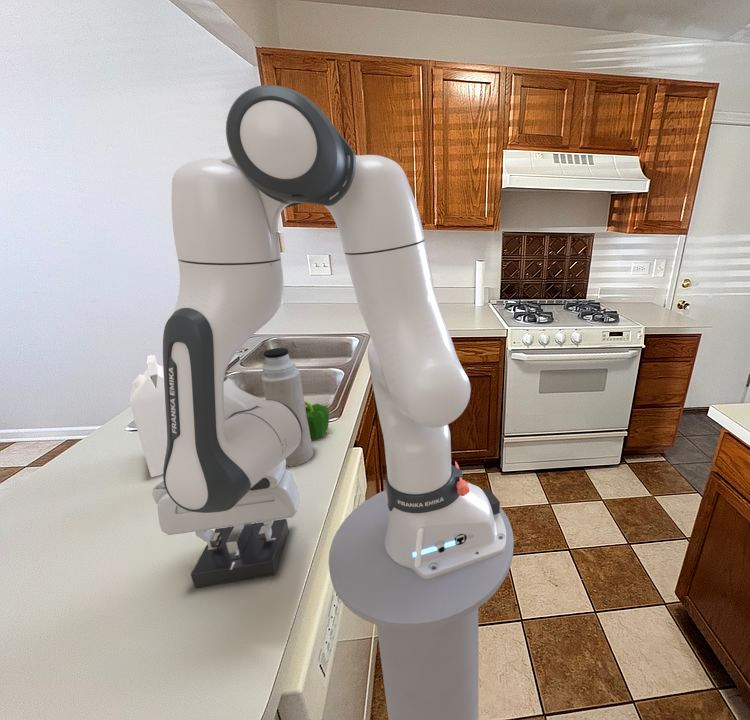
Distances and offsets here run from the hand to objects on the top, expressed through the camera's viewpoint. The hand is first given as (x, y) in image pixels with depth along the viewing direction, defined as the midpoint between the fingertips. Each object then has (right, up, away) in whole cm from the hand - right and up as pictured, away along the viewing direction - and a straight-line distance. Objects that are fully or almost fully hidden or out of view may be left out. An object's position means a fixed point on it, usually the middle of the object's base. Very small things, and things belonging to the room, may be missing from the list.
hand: (241, 541), depth 68 cm
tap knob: (0, -1, 0) cm, 1 cm away
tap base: (0, -3, +1) cm, 4 cm away
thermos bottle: (-5, +7, +30) cm, 31 cm away
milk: (-33, +7, +30) cm, 45 cm away
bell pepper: (-4, +11, +40) cm, 41 cm away
